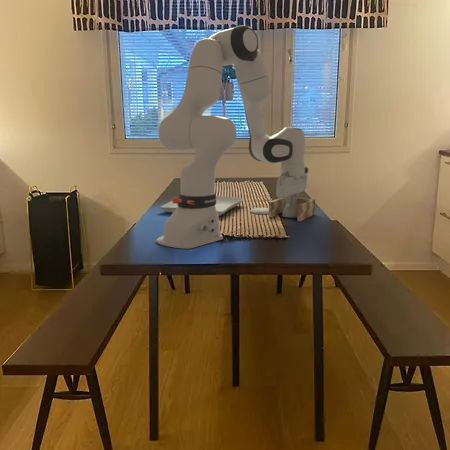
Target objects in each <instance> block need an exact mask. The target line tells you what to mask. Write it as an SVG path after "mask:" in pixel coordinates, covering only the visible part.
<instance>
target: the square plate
mask: <svg viewBox="0 0 450 450" xmlns="http://www.w3.org/2000/svg"><path fill="white" fill-rule="evenodd" d="M244 200H245V198H241V197H233V196H223V195H216V205H215V208H216V211H217V213H218V216H223V215H224V214H225V213H227V212H229V211H230V210H231V209H233V208H235V207H237V206H239V205H240V204H241V203H242V202H243V201H244ZM177 207H178V205H177V203H173V202H172V200H170V201H169V202H166V203H165V204H163V205H161V206H159V208H160V209H161V210H162V211H164V212H166V213H171V214H172V213H173V212H174V211H175V210H176V208H177Z"/></svg>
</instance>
